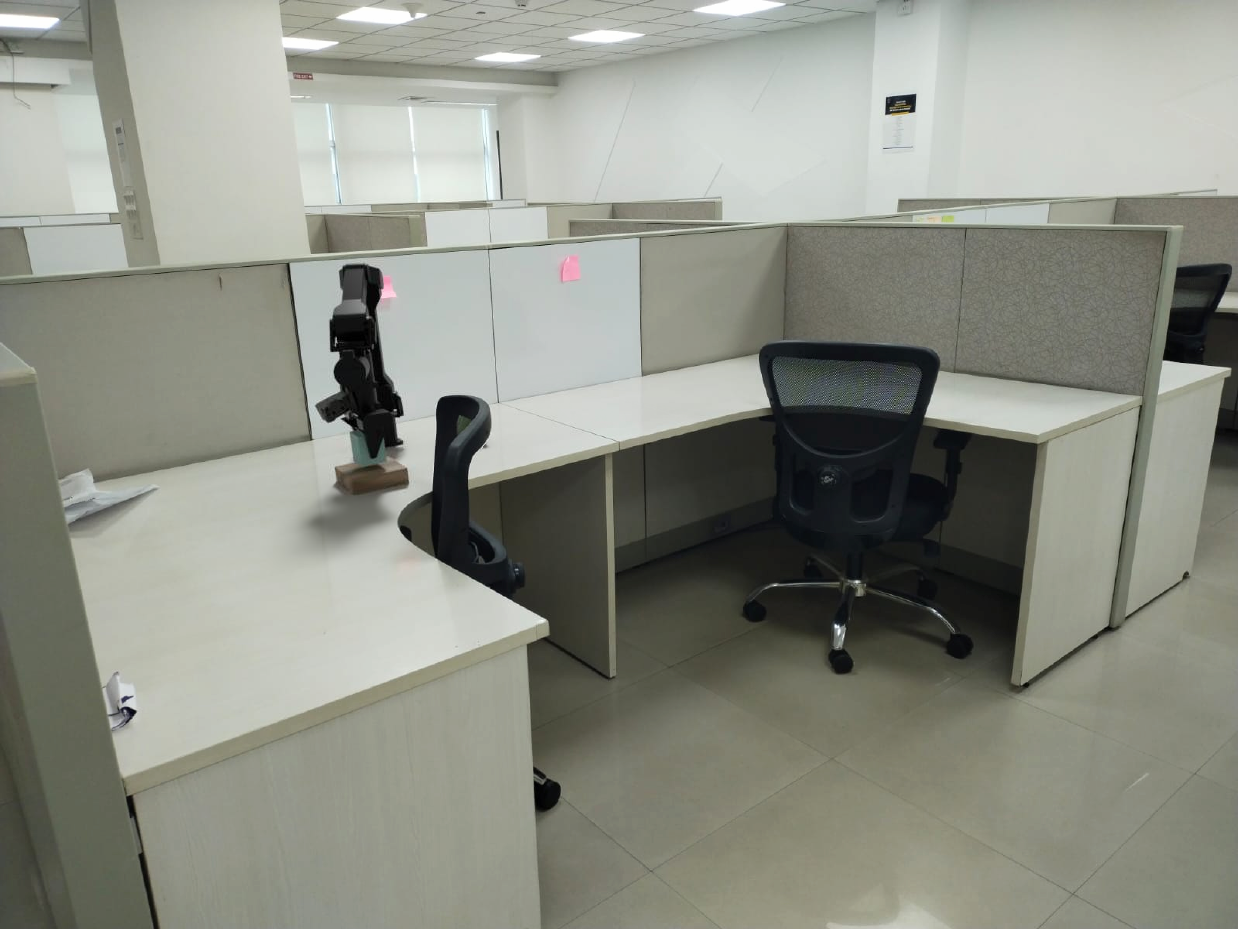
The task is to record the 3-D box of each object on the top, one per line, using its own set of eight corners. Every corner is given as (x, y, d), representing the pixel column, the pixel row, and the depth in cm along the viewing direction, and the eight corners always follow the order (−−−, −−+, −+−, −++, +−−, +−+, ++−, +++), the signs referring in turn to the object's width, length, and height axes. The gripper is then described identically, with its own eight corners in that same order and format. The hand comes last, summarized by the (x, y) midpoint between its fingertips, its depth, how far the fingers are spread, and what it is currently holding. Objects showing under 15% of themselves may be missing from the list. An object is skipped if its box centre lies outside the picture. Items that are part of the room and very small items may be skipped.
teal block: (353, 460, 174) (349, 431, 172) (378, 455, 177) (374, 427, 175) (361, 466, 170) (357, 436, 168) (386, 461, 173) (382, 432, 171)
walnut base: (336, 480, 176) (334, 466, 175) (389, 469, 182) (387, 455, 181) (354, 494, 168) (352, 479, 167) (409, 482, 173) (407, 468, 172)
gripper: (302, 376, 172) (314, 453, 176) (331, 392, 157) (343, 475, 162) (358, 368, 178) (368, 442, 182) (391, 382, 163) (401, 462, 167)
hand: (369, 455), depth 173 cm, fingers closed on teal block, 5 cm apart
